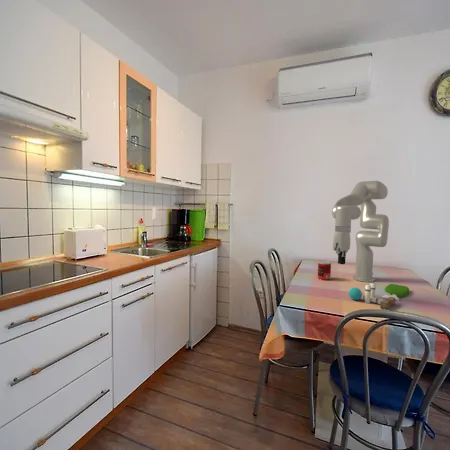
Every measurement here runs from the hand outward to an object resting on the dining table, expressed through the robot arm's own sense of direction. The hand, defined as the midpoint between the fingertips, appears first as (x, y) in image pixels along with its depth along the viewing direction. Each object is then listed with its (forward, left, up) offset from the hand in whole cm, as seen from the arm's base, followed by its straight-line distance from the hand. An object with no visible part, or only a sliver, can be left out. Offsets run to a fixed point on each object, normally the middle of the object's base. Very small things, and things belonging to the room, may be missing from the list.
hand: (341, 263), depth 138 cm
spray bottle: (-23, +18, -17) cm, 34 cm away
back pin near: (+3, +15, -16) cm, 22 cm away
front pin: (+1, +12, -15) cm, 19 cm away
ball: (+4, +10, -13) cm, 17 cm away
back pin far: (-2, +15, -16) cm, 22 cm away
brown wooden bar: (0, +23, -16) cm, 28 cm away
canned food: (-20, -21, -16) cm, 33 cm away
